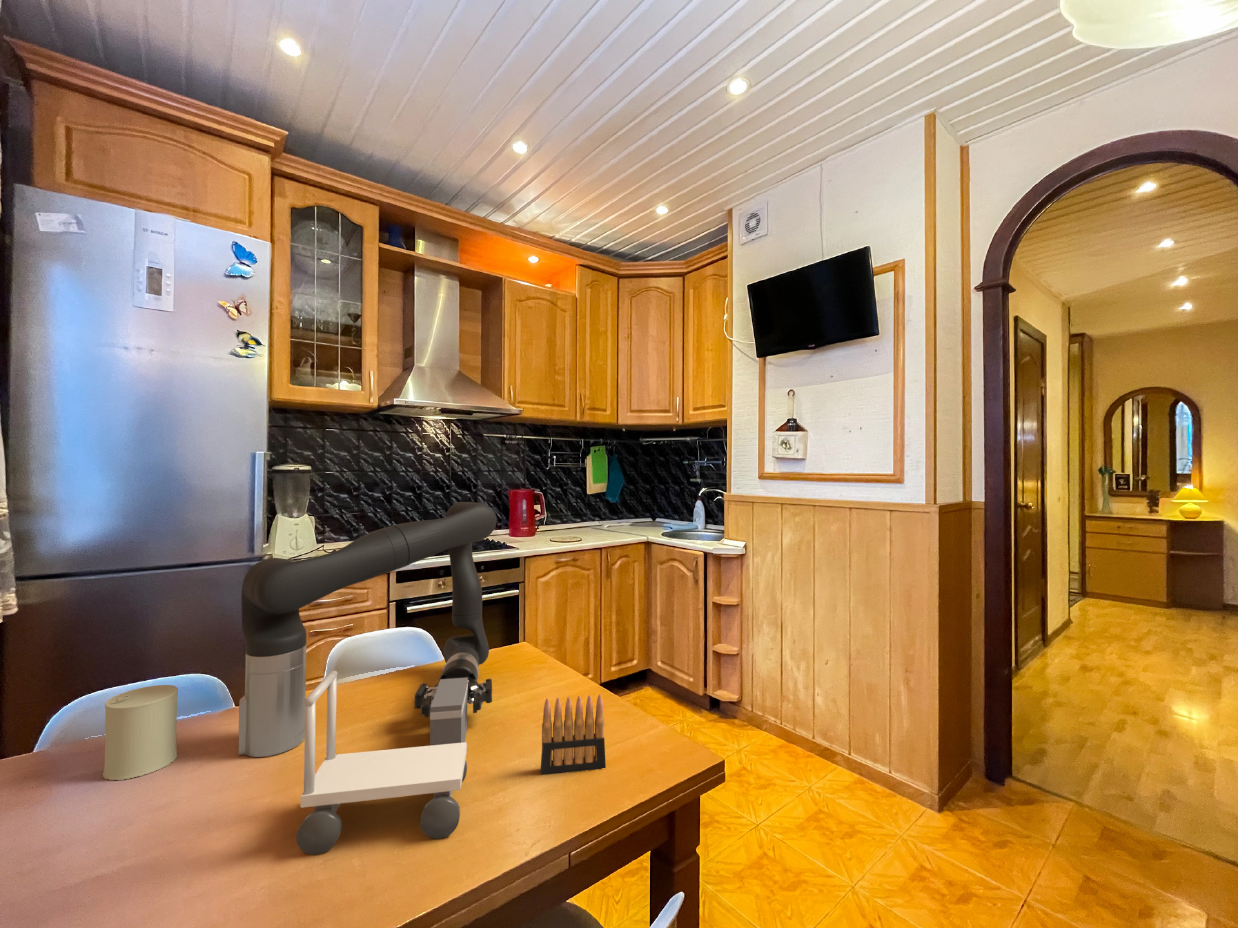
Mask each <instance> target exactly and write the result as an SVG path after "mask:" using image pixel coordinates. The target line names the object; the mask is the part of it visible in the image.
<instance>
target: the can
mask: <svg viewBox="0 0 1238 928" xmlns="http://www.w3.org/2000/svg"><path fill="white" fill-rule="evenodd" d="M178 692H179V687H178V686H176V685H174V684H171V685H170V684H159V685H157V684H156V685H150V686H145V687H140V688H135V689H131V690H128V691H124V692H122V693H120V694H117V695H114V696H112V697H111V698H109V699H108V700H107V701H106V702H105V703H104V707H105V710H104V711H105V714H104V715H105V720H104V721H105V723H104V724H105V730H104V731H105V733H104V735H105V736H104V745H105V746H104V766H103V773H102V777H103V778H104V779H105V780H107V779H109V780H108V781H113V780H118V781H125V780H124V779H127V780H131V779H130V778H133V779H135V778H134V777H137V776H141V777H143V776H142V775H144V774H147V775H149V774H148V773H150V772H153V773H154V771H155V772H157V771H159V769H160V770H162V769H163V767H164V768H166V767H167V766H168V765H170V764H171V762H172V763H173V762H174V761H175V760H176V759H177V757H178V750H177V729H178V728H177V727H178V726H177V723H178V721H177V720H178V695H179V694H178ZM165 766H166V767H165ZM161 768H162V769H161ZM156 770H157V771H156ZM150 774H151V773H150ZM144 776H145V775H144ZM137 778H138V777H137Z"/></svg>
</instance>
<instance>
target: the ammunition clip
mask: <svg viewBox="0 0 1238 928" xmlns="http://www.w3.org/2000/svg"><path fill="white" fill-rule="evenodd" d="M596 699H597V700H596V706H595V707H596V708H595V709H596V710H595V719H594V705H593V700H592V696H591V695H590V694H589V695H588V696H587V699H586V704H585V705H586V706H585V717H584V712H583V710H584V709H583V708H584V707H583V701H582V698H581V696H580V695H578V697H577V698H576V703H575V713H574V716H575V717H574V718H573V704H572V703H573V702H572V700H571V697H570V696H568V697H567V699H566V702H565V708H564V721H563V716H562V715H563V714H562V703H561V700H560V698H559V697H557V698H556V701H555V704H554V710H553V712H554V713H553V714H554V715H553V722H552V709H551V703H550V700H549V698H546V699H545V701H544V706H543V716H542V724H541V755H540V756H541V757H540V759H541V760H540V775H541V776H545V775H546V776H547V775H556V774H565V773H566V774H567V772H568V773H577V772H586V770H588V771H596V769H598V770H603V769H602V768H605V769H606V768H607V767H606V766H607V763H606V748H605V747H606V745H605V744H606V742H605V716H604V702H603V698H602V695H601V694H598V696H597V698H596ZM584 718H585V719H584Z"/></svg>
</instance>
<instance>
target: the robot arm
mask: <svg viewBox="0 0 1238 928" xmlns="http://www.w3.org/2000/svg"><path fill="white" fill-rule="evenodd" d="M497 522H498V521H497V515H496V512H495V510H493V509H492V508H491V507H490V506H488V504H484V503H481V502H472V501H459V502H455V503H453V504H452V505H451V506H450V507H449V508H448V510H447V512H446V514H445V516H444V517H441V518H435V519H434V518H433V519H427V520H417V521H416V520H415V521H410V522H403V523H398V524H392V525H390V526H385V527H383V528H379V529H375V530H374V531H371V532H368V533H365V534H364V535H361V536H360V537H358V538H356V539H354V540H353V541H352V542H350V543H348V544H347V545H345V546H344V547H341V548H340V549H338V550H336V551H335V550H334V551H333V552H329V553H326V554H321V555H318V556H314V557H309V558H306V559H305V558H304V559H299V560H291V559H290V560H289V559H286V558H283V557H281V558H280V557H269V558H265V559H262V560H260V561H258V562H257V563H255V564H254V565H252V566H251V567H250V568H249V570H248V571H247V572H246V573H245V575H244V577H243V581H242V585H241V594H240V595H241V596H240V597H241V600H240V601H241V604H240V605H241V606H240V607H241V630H242V632H241V633H242V636H243V639H244V643H245V670H244V671H245V678H244V679H245V680H244V695H243V696H242V697H241V698H240V699H239V701H238V702H239V703H238V706H239V707H238V747H237V751H238V752H237V753H238V756H239V755H240V756H241V755H245V756H248V757H253V758H262V757H270V756H275V755H279V754H282V753H285V752H288V751H289V750H292V749H294V748H295V747H297V746H299V745H300V744H302V742H303V741H305V705H304V700H305V699H306V698H307V697H306V690H307V689H306V688H307V630H306V627H305V625H304V624H303V622H302V618H301V615H300V609H301V608H304V607H306V606H308V605H310V604H312V603H314V602H317V601H318V600H321V599H323V598H324V597H326V596H328V595H330V594H332V593H334V592H337V591H339V590H342V589H344V588H348V587H349V586H353V585H355V584H359V583H363V582H365V581H368V580H371V579H374V578H376V577H380V576H382V575H385V574H388V573H391V572H394V571H397V570H400V569H402V568H404V567H408V566H410V565H412V564H414V563H417V562H420V561H423V560H425V559H427V558H429V557H433V556H435V555H438V554H439V553H442V552H444V551H446V550H448V554H449V555H448V556H449V563H450V569H451V570H450V571H451V580H452V581H451V582H452V596H451V597H452V598H451V599H452V601H451V602H452V603H451V604H452V605H451V622H452V625H454V626H455V627H458V628H462V629H465V630H469V631H470V632H471V633H472V634H468V635H467V634H466V635H465V634H463V635H453V636H451V637H449V638H448V639H447V640H446V641H445V643H444V647H443V658H444V662H445V664H444V666H443V668H442V671H441V674H440V678H439V679H438V683H437V684H435V685H434V686H428V684H427V683H421V684H420V685H419V687H418V689H417V690H416V692H415V694H414V709H415V710H419V709H420V714H421V716H422V715H423V718H430V710H431V705H432V702H433V699H434V696H435V693H436V690H437V688H438V685H439V682H440V679H454V678H468V690H467V705H472V714H477V713H478V711H481V710H482V706H483V703H484V702H485V703H486V704H491V703H492V702H493V682H492V678H487V679H485V681H483V683H482V682H481V683H479V682H478V679H479V665H483V664H484V663H485V662H486V661H487V659H488V657H489V654H490V648H489V643H488V638H487V635H486V632H485V628H484V622H483V590H482V589H483V588H482V585H481V580H480V577H479V575H478V571H477V568H476V565H475V562H474V557H473V543H478V542H480V541H483V540H485V539H487V538H488V537H489V536H490V535H491V534H492V533H493V532H494V530H495V529H496V526H497Z"/></svg>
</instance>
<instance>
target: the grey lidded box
mask: <svg viewBox="0 0 1238 928" xmlns="http://www.w3.org/2000/svg"><path fill="white" fill-rule="evenodd" d="M439 679H440V678H439ZM438 683H439V685H438V688H437V690H436V693H435V696H434V699H433V702H432V701H431V702H432V705H431V710H430V714H429V720H430V723H429V725H430V726H429V727H430V728H429V746H432V745H442V744H453V743H464V742H466V738H467V733H468V703H467V690H468V678H454V679H440V682H439V681H438Z"/></svg>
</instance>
